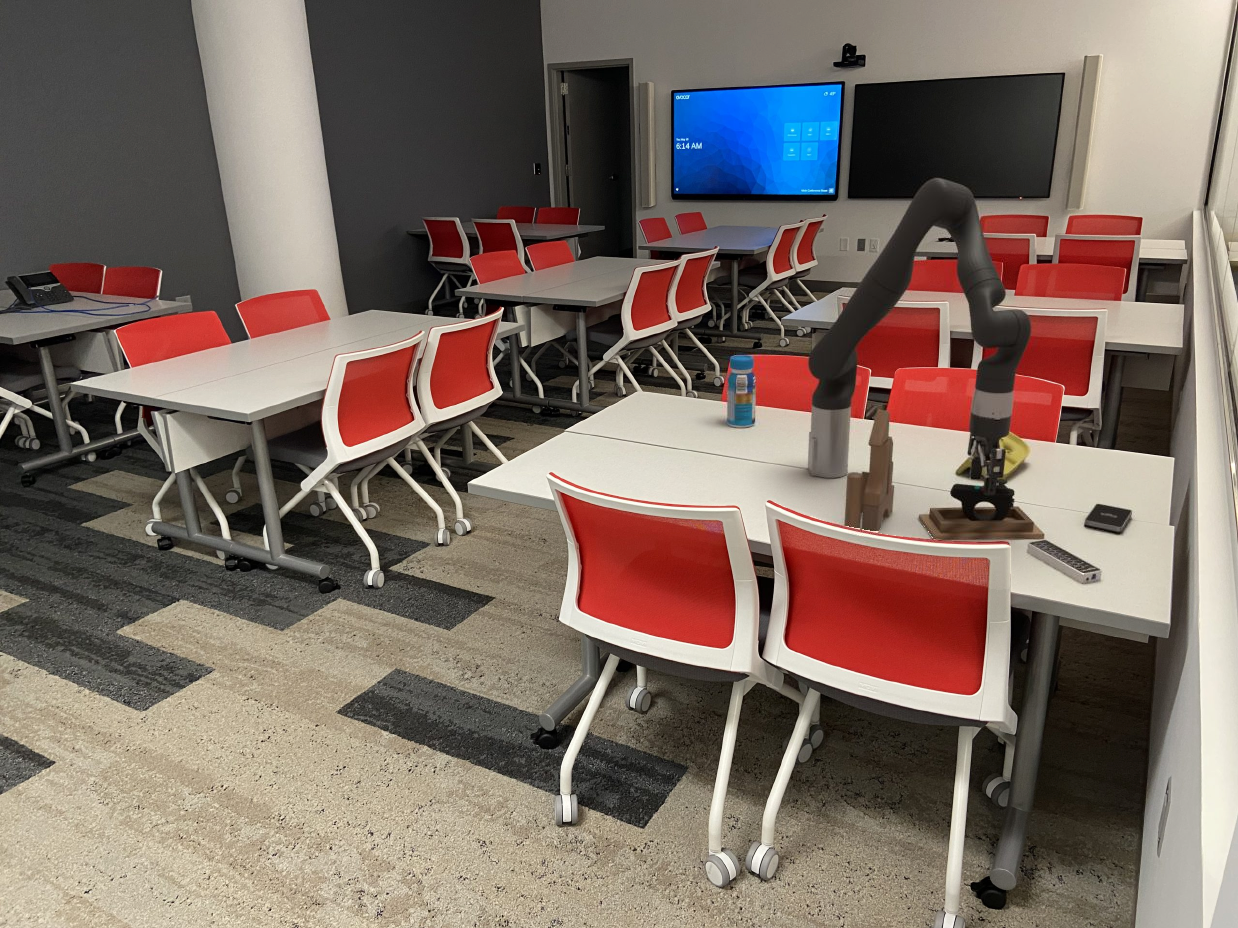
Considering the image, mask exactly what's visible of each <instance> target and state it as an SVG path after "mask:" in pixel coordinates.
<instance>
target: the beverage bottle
mask: <svg viewBox="0 0 1238 928" xmlns="http://www.w3.org/2000/svg"><path fill="white" fill-rule="evenodd" d="M754 361H755V360H754V356H752V355H748V354H736V355H732V356H730V358H729V368H730V372H729V374H728V376H727V379H726V380H727V384H728V385H727V387H726V394H727V395H726V397H727V399H726V401H727V402H726V403H727V404H726V405H727V409H726V410H727V411H726V412H727V415H726V423H727V425H728V426H729V427H732V428H737V429H743V428H744V429H745V428H751V427H754V425H755V424H756V402H757V401H756V398H757V397H756V396H757V394H756V393H757V386H756V382H757V379H756V376H755V374H754V372H753V369H754V366H755V365H754V364H755V362H754Z"/></svg>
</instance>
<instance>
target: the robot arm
mask: <svg viewBox="0 0 1238 928" xmlns="http://www.w3.org/2000/svg"><path fill="white" fill-rule="evenodd" d="M933 227H937V228H940V229H943V230H946V231H947V233H948V234H949V235H950V236H951V238H952V239H953V241H954V244H955V246H956V250H957V259H956V260H957V262H956V274H957V280H958V282H959V284H960V287H961V289H962V292H963V294H964V296H965V298H966V301H967V303H968V311H969V318H970V320H969V321H970V331H971V336H972V338H973V340H974V342H975V343H976V344H977V345H979V346H980V347H981V348H984V349H997V350H996V352H995V353H994V354H993V355H990V356H988V357H985V358H983V359H981V360H980V361H979V362H978V364H977V369H976V377H975V385H974V391H973V395H972V399H971V407H970V416H969V417H970V418H969V424H968V426H969V427H968V431H969V438H968V439H969V440H968V448H967V452H966V453H967V456H969V457H970V461H971V467H969V468H970V469H969V479H970V480H973V481H974V480H975V481H976V480H981V479H982V476H983V475H982V467H984V470H985V477H984V481H983V485H984V488H983V493H984V494H985V495H995V492H996V485H998V483H997V478H1003V474H1004V465H1005V455H1006V450H1005V449H1000V445H999V440H1000V439H1001V438H1003V437H1006V436H1007V435H1008V434H1009V431H1010V430H1011V421H1012V414H1013V409H1014V408H1013V406H1014V389H1015V381H1016V373H1017V369H1018V367H1019V364H1020V362H1021V360H1022V358H1023V355H1024V353H1025V350H1026V349H1027V346H1028V343H1029V342H1030V338H1031V334H1032V322H1031V319H1030V316H1029V315H1028V314H1027V313H1026V311H1024V310H1021V309H1004V310H1003V309H1002V310H1001V309H1000V310H994V308H996V307H997V306H999V305H1001V304H1002V303H1003V302H1004V300H1005V298H1006V296H1007V295H1006V294H1007V291H1006V288H1005V286H1004V284H1003V281H1002V279H1001V277H1000V275H999V272H998V270H997V269H996V267H995V264H994V262H993V260H992V257H991V255H990V252H989V249H988V245H987V243H986V239H985V236H984V231H983V228H982V224H981V220H980V215H979V211H978V207H977V203H976V200H975V197H974V195H973V192H972V190H970V189H969V188H968V187H966V186H965V185H963V184H960V183H956V182H954V181H951V180H948V179H945V178H940V177H934V178H932V179H929V180H927V181H926V182H925V183H924V184H923V185H921V186H920V188H919V189H918V190H917V192H916V194H915V195H914V197H913V199H911V202H910V204H909V205H908V207H907V208H906V210H905V213H904V215H903V216H902V218H901V220H900V222H899V224H898V225H897V227H896V229H895V231H893V234H892V235H891V237H890V239H889V240H888V241H887V243H886V244H885V246H884V248H883V249H882V251H881V252H880V254H879V255H878V257H877V258H876V260H875V261H874V262H873V264H872V265H871V266H870V268H869V270H868V271H867V272H866V273H865V274H864V276H863V278H862V280H861V281H860V283H859V284H858V285H857V287H856V289H855V290H854V291H853V294H852V295H851V296H850V297H849V299H848V300H847V302H846V304H845V306H844V308H843V309H842V310H841V313H840V314H839V316H838V317H837V319H836V320H835V321H834V323H833V324H832V325H831V327H830V328H829V329H828V331H826V333H825V334H824V335H823V336H822V337H821V339H820V340H819V341H817V343H816V344H815V345H814V346H813V347H812V349H811V351H810V353H809V355H808V361H807V365H808V370H809V372H810V374H811V375H812V376H813V377H814V378H815V379H817V380H818V383H817V386H816V388H815V390H814V391H813V392H812V395H811V418H810V420H811V422H810V431H809V433H808V451H807V453H808V454H807V455H808V456H807V469H808V471H809V474H810V476H811V477H820V478H825V479H826V478H828V479H829V478H830V479H833V478H836V479H837V478H841V477H844V476H847V475H848V473H849V472H848V471H849V469H848V467H849V452H850V450H849V449H850V446H849V445H850V435H851V434H850V431H851V414H852V413H851V412H852V398H854V394H855V391H856V382H857V373H858V372H857V371H858V352H857V349H856V348H857V347H858V345H859V344H860V342H861V341H862V340H863V338H865V337H866V336H867V334H868V333H870V331H872V330H873V329H874V328H876V326H877V325H878V324H879V323H880V322H881V321H882V320H883V319H884V318H885V317H886V316H887V315H888V314H890V312H891V311H892V310H893V308H894V307H895V306H896V305H897V304H898V302H899V301H900V299H901V298H902V297H903V295H904V294H905V293H906V291H907V289H908V288H909V287H910V284H911V281H912V277H913V272H914V264H915V257H916V252H917V251H918V249H919V246H920V244H921V243H922V241H923V239H924V238H925V237H926V235H927V234H928V233H929V231H930V230H931V229H932V228H933ZM987 461H990V462H987ZM994 470H995V472H994Z"/></svg>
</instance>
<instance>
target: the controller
mask: <svg viewBox="0 0 1238 928" xmlns="http://www.w3.org/2000/svg"><path fill="white" fill-rule="evenodd" d="M1007 483H1008V480H1006V479H997V484H996V492H995V495H985V494H984V493H983V488H984V484H983V485H975V484H965V483H964V484H963V483H954V484H953V485H952V486H951V489H950V491H949V494H950V496H951V497H952V499H955V500H957V501H959V502H960V503H961V507H962V510H963V513H964V515H965V516H966V517H967V518H968V519H969V520H970V521H1002V520H1004V519H1005V518H1006V516H1007V515H1008V513H1009V511H1010V509H1011V507H1014V503H1015V498H1013V497H1015V494H1016V493H1015V492H1016V491H1015V490H1014V488H1013V489H1012V488H1009V487H1008V486H1006V484H1007ZM980 503H989V504H991V505H992V506H993V507H995V508H996V509H995V513H994V514H993V515H991V516H988V517H983V516H980V515H978V514H977V513H976V512H975V510H974V509H975V507H977V505H979V504H980Z"/></svg>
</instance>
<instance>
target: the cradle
mask: <svg viewBox="0 0 1238 928" xmlns="http://www.w3.org/2000/svg"><path fill="white" fill-rule="evenodd" d="M995 509H996V508H995V507H994V506H975V509H974V510H975V512H976V513H977V514H978V515H980V516H983V517H988V516H991V515H993V514H994V513H995ZM918 518H919V519H918V520H919V522H920V521H921V522H922V523H921V522H920V523H921V525H922V524H923V525H924V526H925V527H924V526H923V525H922V526H923V527H924V529H925V528H926V529H927V530H926V529H925V530H926V532H927V531H929V533H930V534H931V536H932V537H933V538H931V539H932V540H933V539H941V540H940V541H953V540H954V541H956V540H957V541H959V540H960V539H962V540H963V539H964V540H970V541H971V540H1025V539H1027V540H1030V539H1031V540H1033V539H1034V540H1036V539H1040V540H1041V539H1043V540H1045V533H1044V532H1043V531H1042V529H1040V528H1039V527H1038V525H1037V524H1036V523H1035V521H1033V519H1031V518H1030V516H1028V514H1026V512H1025V511H1024V510H1022V509H1021V507H1020V506H1014V507H1011V509H1010V511H1009V513H1008V515H1007V516H1006V518H1005V519H1004V520H1002V521H970V520H969V519H968V518H967V517H966V516H965V515H964V513H963V510H962V506H961V507H959V506H958V507H957V506H956V507H954V506H953V507H929V513H925V514H923V513H922V514H921V513H920V514H918ZM929 533H928V534H929ZM931 536H930V537H931ZM960 541H961V540H960Z"/></svg>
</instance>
